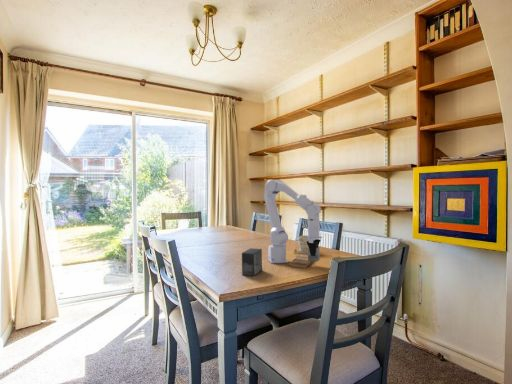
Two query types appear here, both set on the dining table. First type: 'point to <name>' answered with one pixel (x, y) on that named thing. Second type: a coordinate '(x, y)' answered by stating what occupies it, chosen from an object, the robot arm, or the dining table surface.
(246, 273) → the small box
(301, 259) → the board
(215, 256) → the dining table surface
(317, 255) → the gauge
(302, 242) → the mug
